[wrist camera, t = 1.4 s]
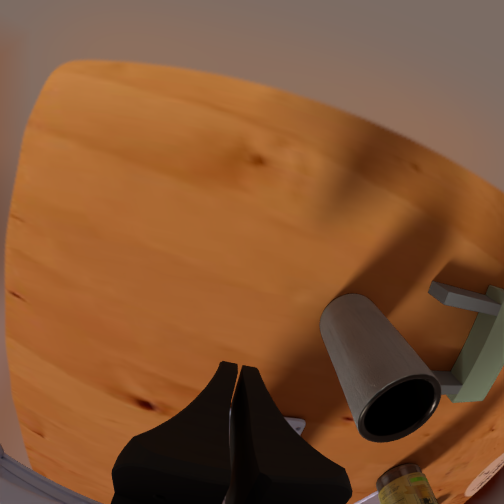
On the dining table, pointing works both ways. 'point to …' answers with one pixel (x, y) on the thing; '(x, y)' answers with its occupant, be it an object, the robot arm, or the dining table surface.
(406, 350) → the grey hollow tube
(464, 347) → the mount
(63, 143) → the dining table surface
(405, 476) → the sauce bottle
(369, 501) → the mobile phone
